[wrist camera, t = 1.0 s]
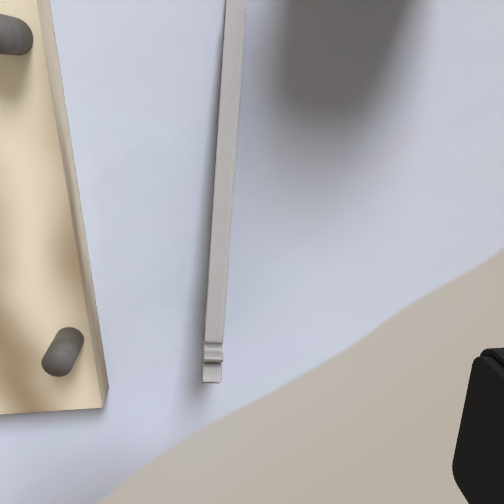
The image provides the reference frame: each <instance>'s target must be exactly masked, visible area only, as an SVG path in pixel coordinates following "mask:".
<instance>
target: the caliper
mask: <svg viewBox="0 0 504 504" xmlns="http://www.w3.org/2000/svg"><path fill="white" fill-rule="evenodd" d="M245 12H246V0H226V11H225V24H224V39H223V53H222V69H221V84H220V100H219V116H218V131H217V147H216V162H215V178H214V193H213V209H212V224H211V240H210V253H209V266H208V281H207V299H206V310H205V315H204V330H205V333H204V336H203V347H202V383H220V382H222V365H221V363H222V362H223V353H222V343H223V336H224V322H225V308H226V294H227V280H228V266H229V260H228V258H229V244H230V230H231V216H232V203H233V189H234V175H235V161H236V147H237V133H238V119H239V105H240V91H241V77H242V63H243V49H244V35H245V21H246V14H245Z"/></svg>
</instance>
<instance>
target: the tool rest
mask: <svg viewBox="0 0 504 504" xmlns="http://www.w3.org/2000/svg"><path fill="white" fill-rule="evenodd" d="M108 388H109V386H108V380H107V373H106V366H105V360H104V353H103V347H102V340H101V334H100V327H99V321H98V314H97V308H96V301H95V295H94V288H93V282H92V275H91V268H90V262H89V255H88V249H87V242H86V236H85V229H84V223H83V216H82V210H81V203H80V197H79V190H78V184H77V177H76V171H75V164H74V157H73V151H72V144H71V138H70V131H69V125H68V118H67V112H66V105H65V99H64V92H63V86H62V79H61V73H60V66H59V60H58V53H57V46H56V40H55V33H54V27H53V20H52V14H51V7H50V1H49V0H0V414H15V413H30V412H45V411H60V410H74V409H89V408H102V407H103V404H104V401H105V398H106V394H107V391H108Z"/></svg>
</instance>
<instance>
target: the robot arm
mask: <svg viewBox="0 0 504 504" xmlns="http://www.w3.org/2000/svg"><path fill="white" fill-rule="evenodd" d="M452 470H453V475H454V479H455V481H456V483H457V485H458V487H459V489H460V490H461V492H462V493H463V495H464V496H465V498H466V500H467V501H468V503H469V504H504V348H490V349H485V350H483V352H482V353H481V355H480V357H477V358H475V360H474V361H473V364H472V369H471V374H470V379H469V384H468V389H467V394H466V399H465V404H464V409H463V413H462V418H461V424H460V429H459V434H458V438H457V443H456V448H455V453H454V459H453V465H452Z"/></svg>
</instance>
